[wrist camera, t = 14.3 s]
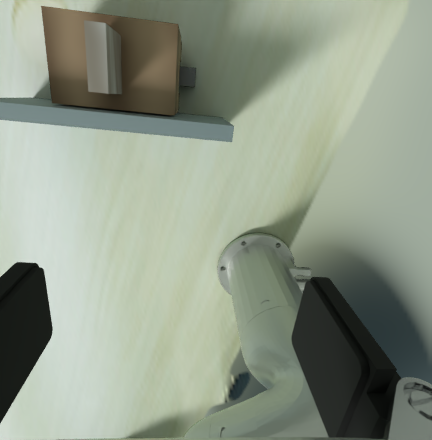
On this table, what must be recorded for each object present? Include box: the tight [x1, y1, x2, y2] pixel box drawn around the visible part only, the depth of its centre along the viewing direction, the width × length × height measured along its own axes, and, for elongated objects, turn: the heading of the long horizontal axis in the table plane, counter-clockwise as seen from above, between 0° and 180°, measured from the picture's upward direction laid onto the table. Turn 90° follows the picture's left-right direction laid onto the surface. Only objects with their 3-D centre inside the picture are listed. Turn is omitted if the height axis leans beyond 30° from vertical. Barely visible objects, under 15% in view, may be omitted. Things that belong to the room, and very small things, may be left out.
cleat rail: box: [179, 66, 196, 87], centre depth 35 cm, size 16×2×2 cm, turn 84°
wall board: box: [0, 98, 234, 142], centre depth 32 cm, size 24×2×12 cm, turn 84°
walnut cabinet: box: [41, 6, 182, 115], centre depth 30 cm, size 12×8×14 cm, turn 84°
